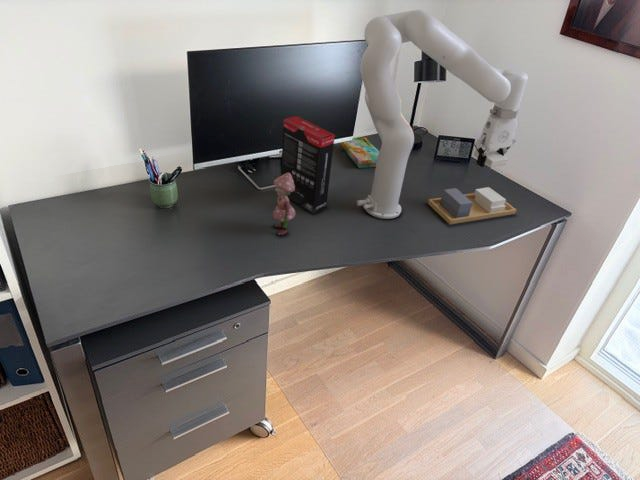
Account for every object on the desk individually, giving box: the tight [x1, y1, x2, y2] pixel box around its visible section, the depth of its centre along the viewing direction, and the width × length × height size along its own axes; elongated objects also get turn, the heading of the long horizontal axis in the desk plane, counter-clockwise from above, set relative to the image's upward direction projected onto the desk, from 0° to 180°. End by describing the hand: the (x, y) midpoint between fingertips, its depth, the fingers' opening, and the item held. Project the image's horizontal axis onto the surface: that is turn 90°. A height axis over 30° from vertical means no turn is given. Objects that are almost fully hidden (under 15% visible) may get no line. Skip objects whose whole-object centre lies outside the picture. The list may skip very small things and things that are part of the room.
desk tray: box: [427, 192, 517, 225], centre depth 173 cm, size 28×14×2 cm, turn 112°
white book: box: [474, 196, 506, 213], centre depth 175 cm, size 6×9×2 cm
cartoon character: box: [272, 173, 296, 236], centre depth 147 cm, size 10×7×20 cm
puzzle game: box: [339, 137, 380, 169], centre depth 198 cm, size 12×5×20 cm
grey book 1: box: [441, 187, 473, 212], centre depth 168 cm, size 5×10×3 cm, turn 22°
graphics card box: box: [280, 115, 336, 214], centre depth 160 cm, size 17×7×27 cm, turn 47°
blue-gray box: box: [440, 197, 471, 218], centre depth 169 cm, size 5×10×3 cm, turn 22°
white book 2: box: [473, 186, 507, 207], centre depth 174 cm, size 6×9×2 cm
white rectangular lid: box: [473, 147, 509, 168], centre depth 162 cm, size 6×9×2 cm
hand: (488, 163), depth 163 cm, fingers closed on white rectangular lid, 6 cm apart
